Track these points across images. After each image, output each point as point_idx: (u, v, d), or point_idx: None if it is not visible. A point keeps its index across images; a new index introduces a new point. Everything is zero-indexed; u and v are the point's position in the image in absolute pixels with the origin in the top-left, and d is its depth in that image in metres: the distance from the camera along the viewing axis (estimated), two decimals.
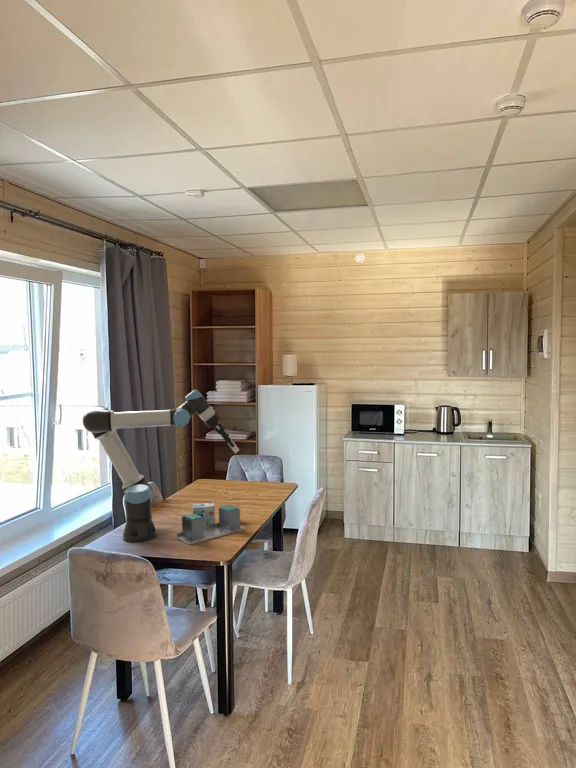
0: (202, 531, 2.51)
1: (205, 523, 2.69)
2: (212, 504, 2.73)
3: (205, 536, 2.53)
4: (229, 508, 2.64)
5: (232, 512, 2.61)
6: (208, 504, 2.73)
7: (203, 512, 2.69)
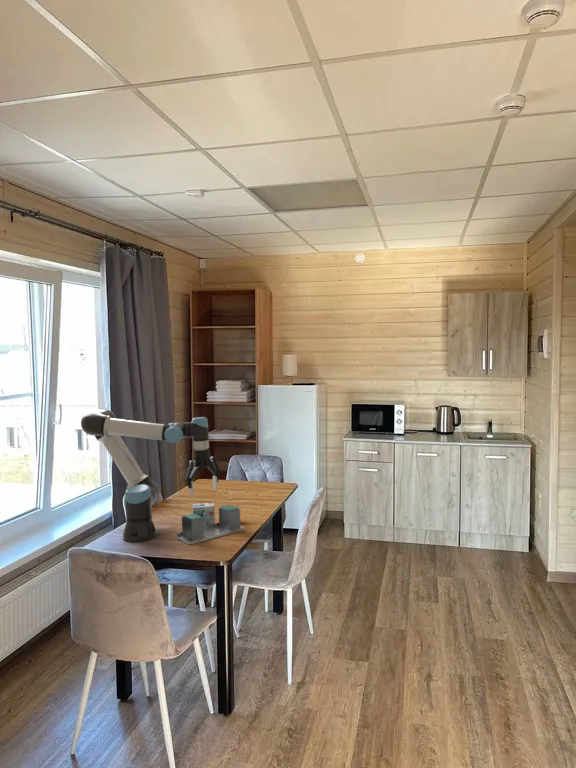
0: (202, 531, 2.51)
1: (205, 523, 2.69)
2: (212, 504, 2.73)
3: (205, 536, 2.53)
4: (229, 508, 2.64)
5: (232, 512, 2.61)
6: (208, 504, 2.73)
7: (203, 512, 2.69)
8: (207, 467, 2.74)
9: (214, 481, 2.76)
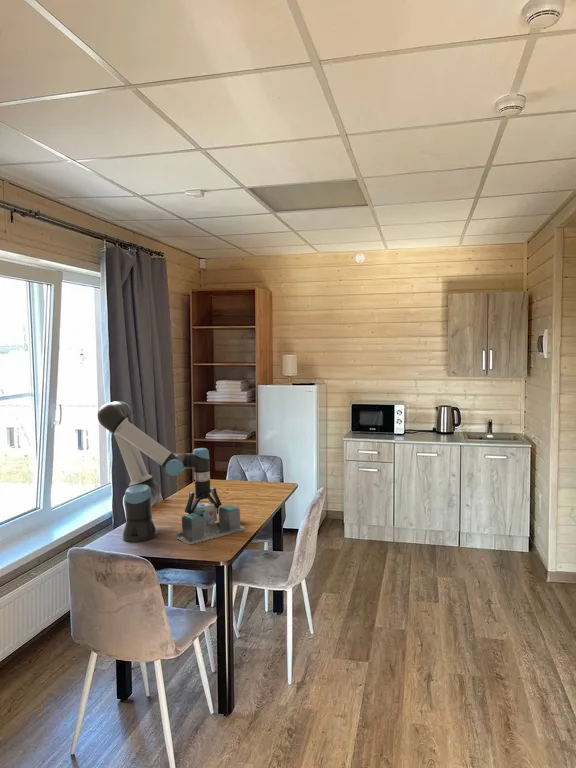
0: (202, 531, 2.51)
1: (205, 523, 2.69)
2: (212, 504, 2.73)
3: (205, 536, 2.53)
4: (229, 508, 2.64)
5: (232, 512, 2.61)
6: (208, 504, 2.73)
7: (203, 512, 2.69)
8: None
9: None
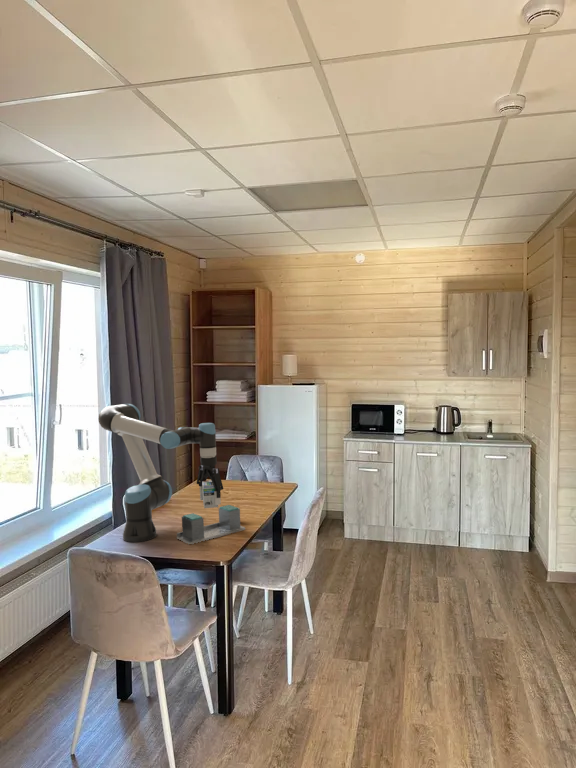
0: (202, 531, 2.51)
1: None
2: (209, 480, 2.63)
3: (205, 536, 2.53)
4: (229, 508, 2.64)
5: (232, 512, 2.61)
6: (208, 481, 2.61)
7: None
8: (204, 476, 2.61)
9: None
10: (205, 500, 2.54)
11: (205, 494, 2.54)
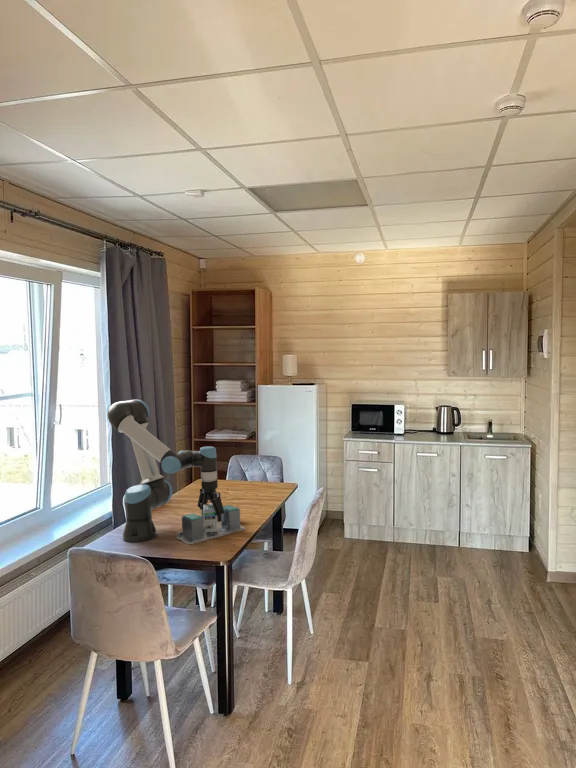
0: (202, 531, 2.51)
1: None
2: (210, 503, 2.64)
3: (205, 536, 2.53)
4: (229, 508, 2.64)
5: (232, 512, 2.61)
6: (209, 504, 2.62)
7: None
8: (205, 500, 2.61)
9: None
10: (206, 524, 2.54)
11: (206, 518, 2.54)
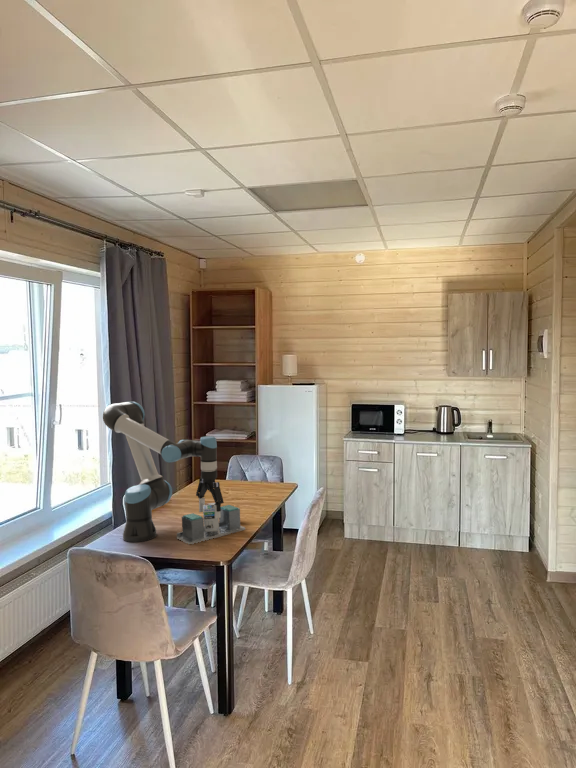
0: (202, 531, 2.51)
1: None
2: (210, 503, 2.64)
3: (205, 536, 2.53)
4: (229, 508, 2.64)
5: (232, 512, 2.61)
6: (209, 504, 2.62)
7: None
8: (204, 489, 2.61)
9: (202, 503, 2.65)
10: (206, 523, 2.54)
11: (206, 517, 2.54)
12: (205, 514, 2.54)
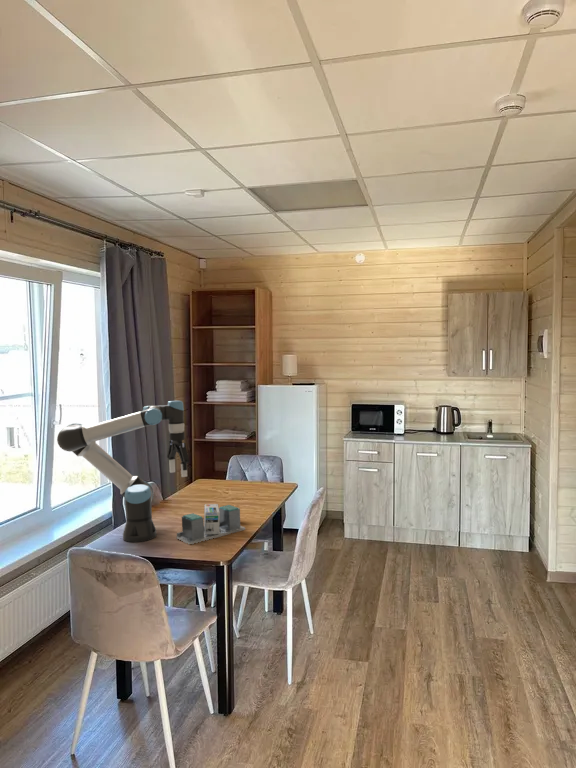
0: (202, 531, 2.51)
1: None
2: (211, 504, 2.63)
3: (205, 536, 2.53)
4: (229, 508, 2.64)
5: (232, 512, 2.61)
6: (211, 506, 2.61)
7: None
8: (173, 451, 2.76)
9: (172, 464, 2.80)
10: (206, 527, 2.54)
11: (207, 521, 2.54)
12: (206, 517, 2.53)
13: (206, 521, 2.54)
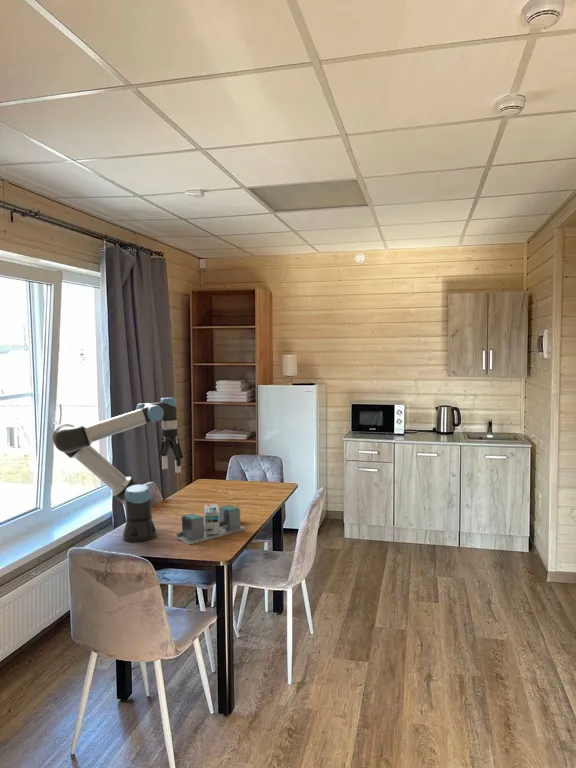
0: (202, 531, 2.51)
1: None
2: (211, 504, 2.63)
3: (205, 536, 2.53)
4: (229, 508, 2.64)
5: (232, 512, 2.61)
6: (211, 506, 2.61)
7: None
8: (165, 447, 2.80)
9: (165, 461, 2.83)
10: (206, 527, 2.54)
11: (207, 521, 2.54)
12: (206, 517, 2.53)
13: (206, 521, 2.54)
